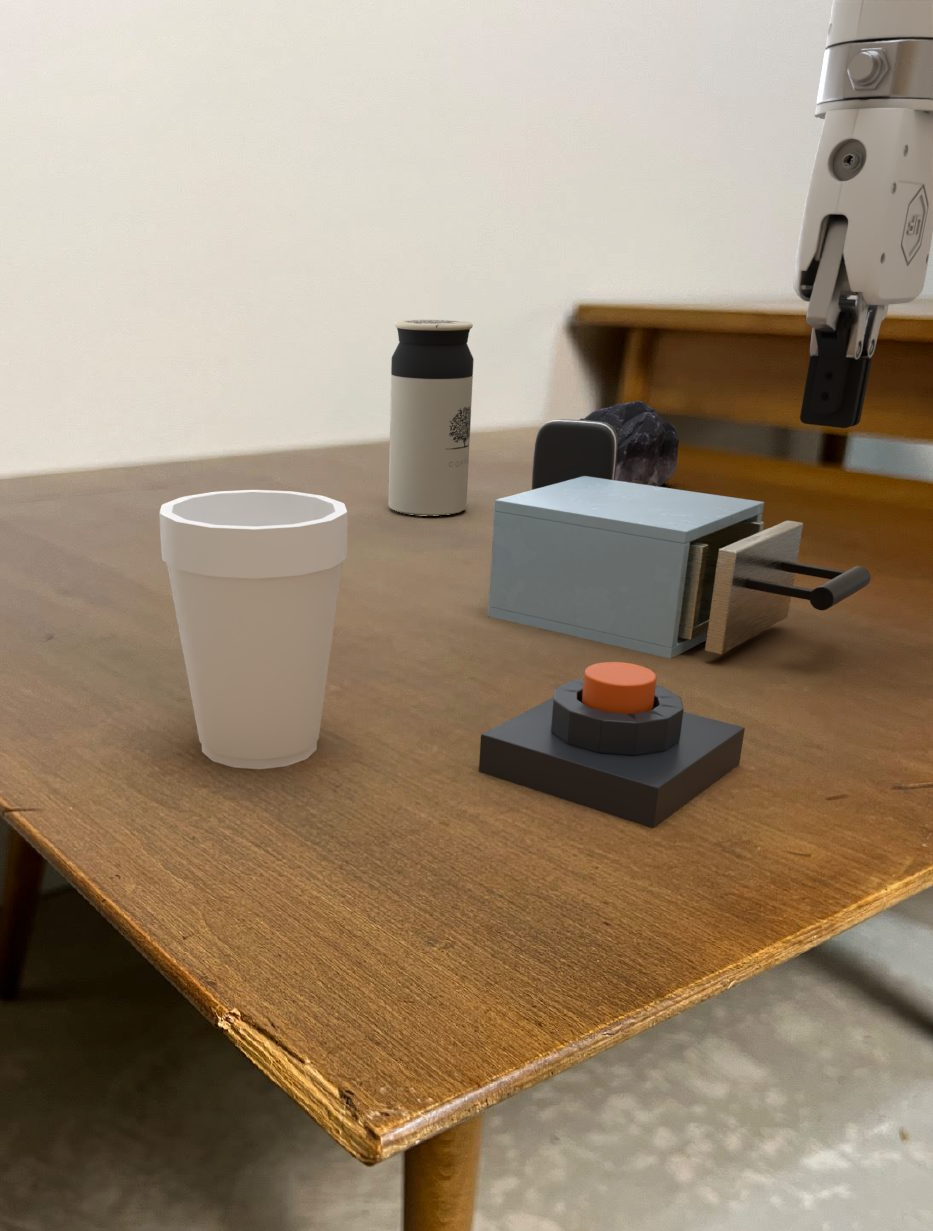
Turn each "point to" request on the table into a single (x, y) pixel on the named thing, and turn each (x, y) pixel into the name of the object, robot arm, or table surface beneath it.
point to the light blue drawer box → (603, 559)
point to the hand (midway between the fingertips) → (829, 423)
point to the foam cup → (255, 616)
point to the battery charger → (574, 451)
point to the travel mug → (430, 417)
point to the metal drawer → (752, 582)
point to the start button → (619, 687)
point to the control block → (613, 754)
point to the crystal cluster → (641, 443)
